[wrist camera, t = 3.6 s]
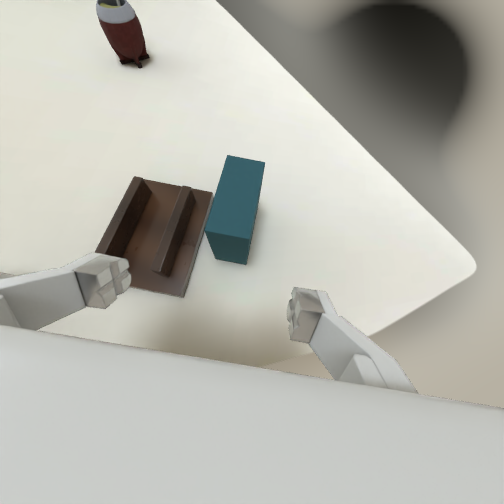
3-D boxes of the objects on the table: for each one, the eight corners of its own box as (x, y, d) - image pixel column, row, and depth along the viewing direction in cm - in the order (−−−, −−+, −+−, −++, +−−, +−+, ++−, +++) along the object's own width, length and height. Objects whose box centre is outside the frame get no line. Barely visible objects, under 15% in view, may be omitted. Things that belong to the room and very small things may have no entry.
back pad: (246, 264, 26) (249, 239, 18) (215, 258, 26) (204, 230, 18) (257, 206, 30) (265, 162, 21) (230, 201, 30) (227, 154, 21)
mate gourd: (125, 73, 39) (60, -67, 25) (112, 53, 41) (45, -86, 27) (158, 64, 41) (116, -71, 27) (144, 46, 43) (98, -88, 29)
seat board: (183, 297, 24) (171, 293, 20) (94, 280, 24) (63, 272, 20) (214, 198, 30) (209, 178, 25) (141, 184, 30) (125, 161, 25)
